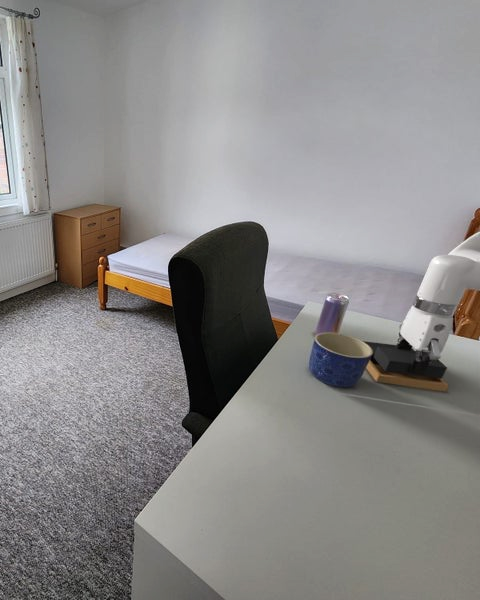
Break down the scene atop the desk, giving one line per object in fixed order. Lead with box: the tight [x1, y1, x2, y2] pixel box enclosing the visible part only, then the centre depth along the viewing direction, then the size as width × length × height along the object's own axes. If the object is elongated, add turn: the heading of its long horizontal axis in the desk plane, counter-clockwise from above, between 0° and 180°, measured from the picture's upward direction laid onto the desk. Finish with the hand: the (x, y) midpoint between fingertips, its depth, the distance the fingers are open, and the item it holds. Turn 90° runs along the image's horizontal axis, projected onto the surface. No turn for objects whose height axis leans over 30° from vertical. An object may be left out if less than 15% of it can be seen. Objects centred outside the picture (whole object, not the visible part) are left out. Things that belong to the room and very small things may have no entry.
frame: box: [366, 360, 449, 392], centre depth 96 cm, size 15×17×2 cm
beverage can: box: [314, 293, 350, 336], centre depth 109 cm, size 6×6×15 cm
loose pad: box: [374, 347, 448, 379], centre depth 91 cm, size 12×7×4 cm, turn 73°
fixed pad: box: [362, 340, 415, 365], centre depth 99 cm, size 12×7×4 cm, turn 73°
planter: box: [308, 332, 373, 388], centre depth 91 cm, size 12×12×11 cm
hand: (407, 364), depth 91 cm, fingers closed on loose pad, 7 cm apart
